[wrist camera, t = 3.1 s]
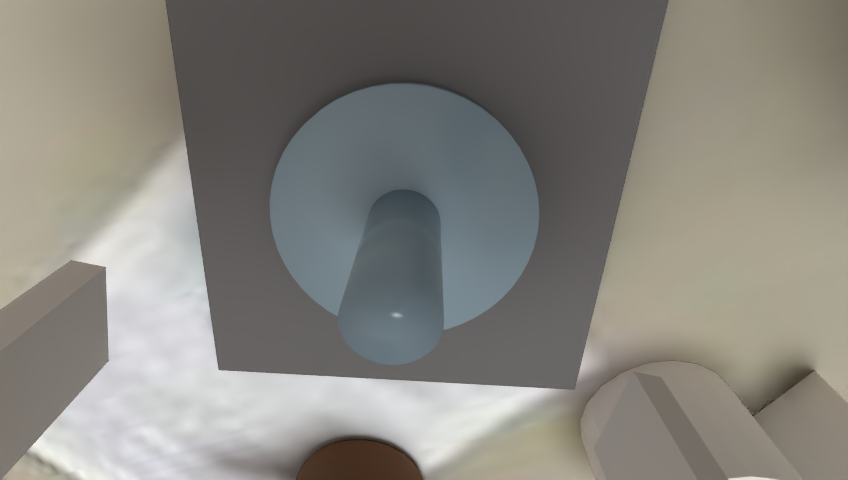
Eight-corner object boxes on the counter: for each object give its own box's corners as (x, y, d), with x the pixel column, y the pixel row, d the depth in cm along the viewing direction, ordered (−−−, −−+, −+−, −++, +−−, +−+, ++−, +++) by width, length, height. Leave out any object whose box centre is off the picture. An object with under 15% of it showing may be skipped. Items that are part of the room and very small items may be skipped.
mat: (168, -38, 18) (159, -40, 17) (662, -5, 18) (669, -5, 18) (223, 362, 25) (218, 369, 25) (571, 381, 26) (574, 389, 25)
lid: (265, 73, 19) (161, 115, 12) (553, 89, 19) (628, 139, 12) (285, 315, 24) (220, 453, 16) (517, 327, 24) (553, 469, 16)
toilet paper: (816, 371, 25) (943, 491, 19) (652, 493, 29) (713, 626, 23) (708, 290, 23) (810, 392, 17) (548, 432, 27) (583, 558, 21)
